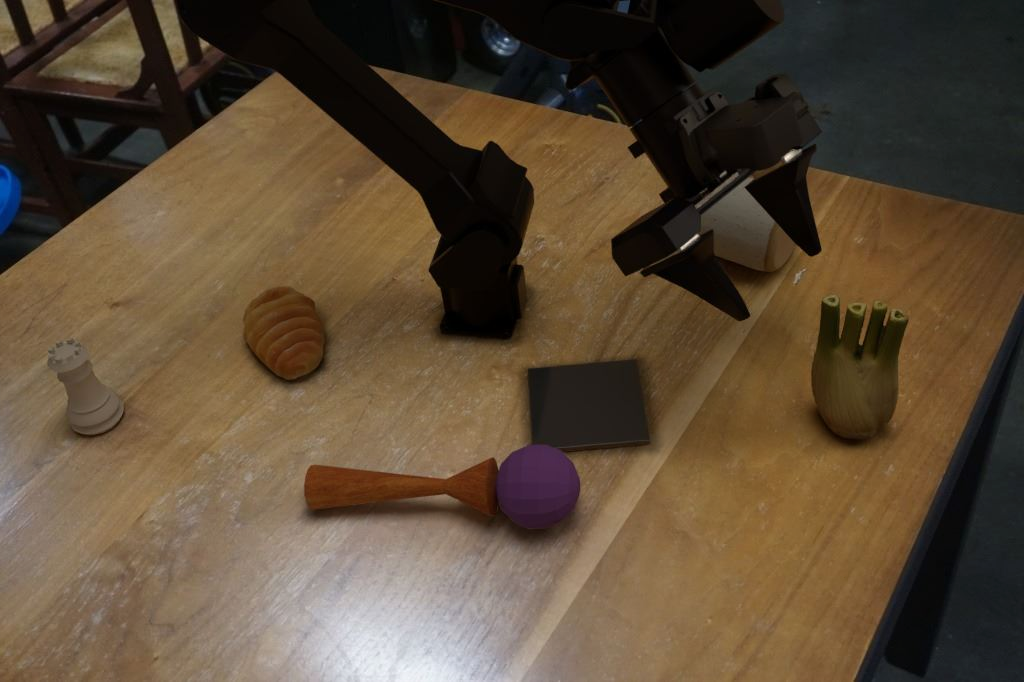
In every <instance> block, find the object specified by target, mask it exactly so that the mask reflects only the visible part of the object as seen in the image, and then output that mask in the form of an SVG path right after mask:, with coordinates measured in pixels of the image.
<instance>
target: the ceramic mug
mask: <svg viewBox="0 0 1024 682" xmlns="http://www.w3.org/2000/svg"><path fill="white" fill-rule="evenodd" d="M726 173H727V172H726V171H724V172H723V173H722V174H721V175H720V178H721V177H722V176H723V175H724V174H726ZM752 180H754V178H753V177H751V176H750V177H748V178H747V179H746V180H745V181H743V182H742V183H741V184H740V185H738V186H737V187H736V188H735V189H733V190H732V191H731V192H730V193H728V194H727V195H726V196H725V197H723V198H722V199H721V200H720V201H718V202H717V203H716V204H715V205H713V206H712V207H711V208H710V209H708V210H707V211H706V212H705V213H703V214H702V215H701V231H700V232H699V234H700V235H701V234H703V233H705V232H707V231H709V230H711V229H713V231H714V253H715V256H716V257H718V258H721V259H724V260H727V261H730V262H733V263H736V264H738V265H741V266H745V267H746V268H750V269H751V270H756V271H759V272H760V271H761V272H766V273H767V272H768V273H772V272H775V271H777V270H779V269H781V268H782V267H783V266H784V265H785V263H786V262H787V261H788V260H789V258H790V256H791V254H792V253H793V252H794V249H795V246H796V244H795V243H794V242H793V241H792V240H791V238H790V237H789V236H788V235H787V234H786V233H785V232H784V231H783V230H782V229H781V227H780V226H779V225H778V224H777V223H776V222H775V221H774V220H773V219H772V217H771V216H770V215H769V214H768V213H767V212H766V211H765V210H764V209H763V208H762V207H761V206H760V204H759V203H758V202H757V201H756V200H755V199H754V198H753V197H752V196H751V194H750V193H749V192H748V191H747V190H746V189H745V186H746V185H747V184H749V183H750V182H751V181H752ZM706 189H707V188H706ZM703 191H704V190H703ZM703 191H702V192H703ZM700 193H701V192H700Z"/></svg>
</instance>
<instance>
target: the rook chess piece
mask: <svg viewBox="0 0 1024 682" xmlns="http://www.w3.org/2000/svg"><path fill="white" fill-rule="evenodd" d="M65 341H66V342H64V343H63V341H62V339H59V340H57V341H55V342H54V344H55V346H56V347H55V348H54V346H49V348H48V349H47V352H48V354H47V356H48V357H47V361H46V363H47V367H48V368H49V370H50V371H53V372H55V373H57V377H56V378H57V379H58V381H59V383H62V384H63V385H64V387H65V388H64V389H65V392H66V395H67V406H66V418H67V419H68V421H69V425H70V427H71V428H72V430H73V431H74V432H76V433H80V434H81V435H85V436H95V435H96V436H97V435H100V434H104V433H105V432H107V431H110V430H111V429H113V428H114V427H115V426H116V425H117V424H118V423H119V422H120V419H121V418H122V416H123V413H124V411H125V410H124V407H125V406H124V403H123V401H122V400H121V399H120V396H119V395H118V393H117V392H116V391H115V390H114V388H111V387H109V386H107V384H104V383H102V382H101V381H100V379H98V376H97V375H96V374H95V373H94V370H93V369H94V368H93V367H94V366H93V365H94V363H92V362H91V360H89V359H88V358H89V355H90V349H89V348H88V347H87V346H86V345H85V344H82V343H80V341H79V340H78V339H76V340H75V339H74V338H73V337H66V340H65Z"/></svg>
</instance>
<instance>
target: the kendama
mask: <svg viewBox="0 0 1024 682" xmlns="http://www.w3.org/2000/svg"><path fill="white" fill-rule="evenodd" d="M303 495H304V500H305V503H306V506H307V507H308V508H309V509H310V510H311V511H312V510H322V509H329V508H330V509H331V508H338V507H339V508H340V507H347V506H355V505H363V504H372V503H382V502H390V501H400V500H409V499H416V498H425V497H434V496H441V495H442V496H443V495H446V496H448V497H450V498H452V499H454V500H457V501H459V502H461V503H463V504H465V505H468V506H469V507H471V508H474V509H475V510H478V511H480V512H482V513H484V514H486V515H488V516H490V517H494V516H495V515H496V514H497V512H498V508H500V509H501V511H502V512H503V513H504V514H505V515H506V516H507V517H508V518H509V519H510V520H511V522H513V523H514V524H516V525H519V526H521V527H523V528H526V529H528V530H546V529H549V528H551V527H553V526H556V525H559V524H561V523H562V522H563V521H565V519H566V518H568V517H569V515H570V514H571V513H572V512H573V511H574V510H575V508H576V505H577V503H578V500H579V497H580V495H581V478H580V476H579V473H578V471H577V468H576V466H575V464H574V462H573V461H572V460H571V458H570V457H568V455H566V453H564V452H562V451H561V450H558V449H556V448H554V447H551V446H549V445H532V444H527V445H525V446H523V447H520V448H518V449H516V450H513V451H511V452H510V453H509V454H508V456H507V457H506V458H505V459H504V460H503V461H502V462H501V463H500V466H498V462H497V460H496V458H495V457H494V456H493V457H490V458H487V459H485V460H483V461H481V462H479V463H477V464H475V465H472V466H471V467H468V468H467V469H464V470H462V471H460V472H458V473H456V474H453V475H452V476H450V477H448V478H447V477H446V478H442V477H441V478H439V477H433V476H432V477H430V476H421V475H413V474H404V473H395V472H384V471H376V470H366V469H356V468H348V467H342V466H341V467H340V466H331V465H321V464H311V465H310V466H309V467H308V468H307V471H306V474H305V476H304V484H303Z"/></svg>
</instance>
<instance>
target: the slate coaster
mask: <svg viewBox="0 0 1024 682" xmlns="http://www.w3.org/2000/svg"><path fill="white" fill-rule="evenodd" d="M527 379H528V380H527V381H528V397H529V415H530V429H531V430H530V431H531V445H549V446H551V447H554V448H556V449H558V450H561V451H562V452H563V453H564V452H576V451H589V450H599V449H610V448H611V449H613V448H623V447H635V446H646V445H651V436H650V429H649V424H648V418H647V412H646V411H647V410H646V405H645V399H644V394H643V393H644V392H643V388H642V381H641V376H640V369H639V365H638V359H637V358H631V359H620V360H610V361H598V362H587V363H585V362H584V363H574V364H565V365H564V364H563V365H554V366H553V365H552V366H542V367H530V368H527Z"/></svg>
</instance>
